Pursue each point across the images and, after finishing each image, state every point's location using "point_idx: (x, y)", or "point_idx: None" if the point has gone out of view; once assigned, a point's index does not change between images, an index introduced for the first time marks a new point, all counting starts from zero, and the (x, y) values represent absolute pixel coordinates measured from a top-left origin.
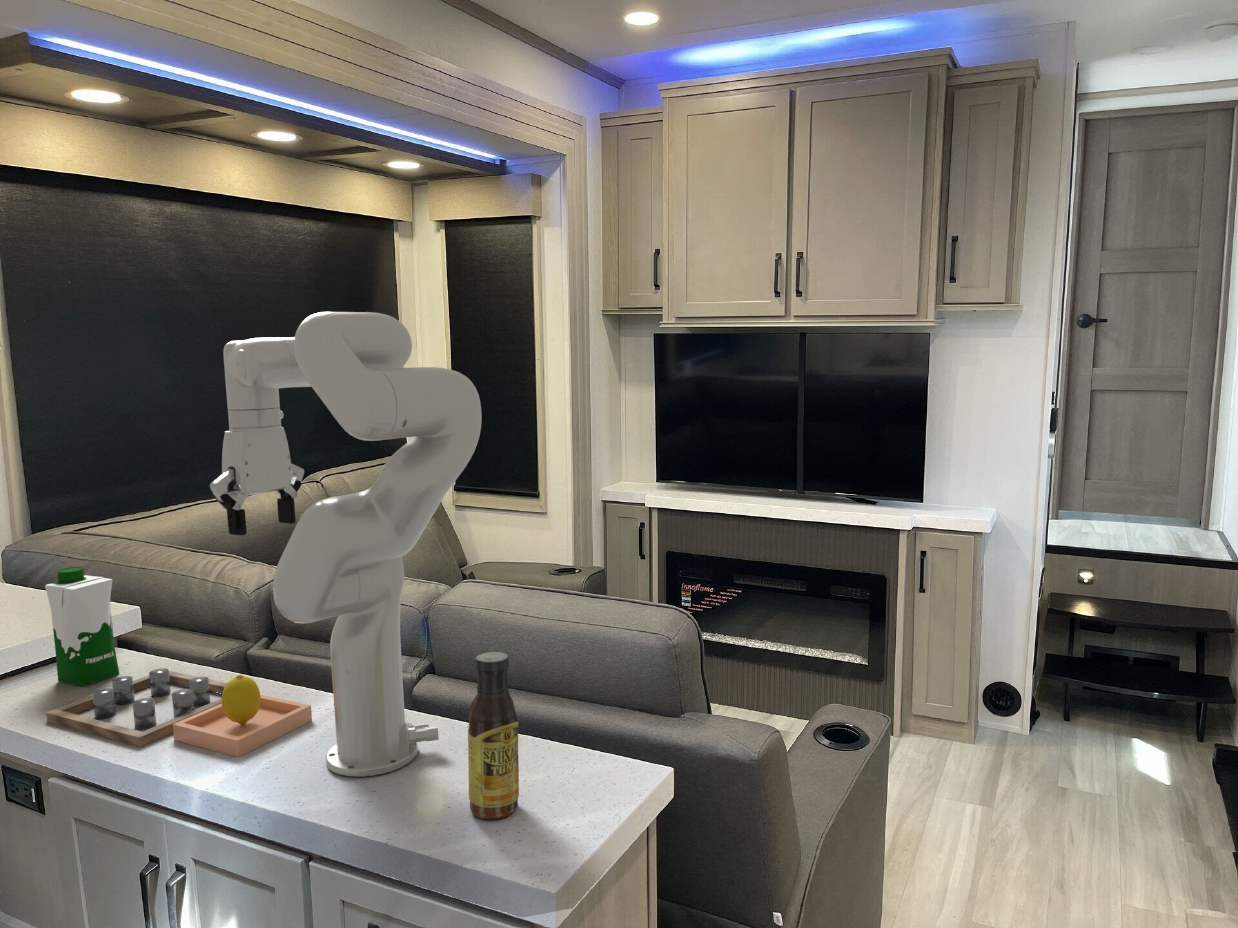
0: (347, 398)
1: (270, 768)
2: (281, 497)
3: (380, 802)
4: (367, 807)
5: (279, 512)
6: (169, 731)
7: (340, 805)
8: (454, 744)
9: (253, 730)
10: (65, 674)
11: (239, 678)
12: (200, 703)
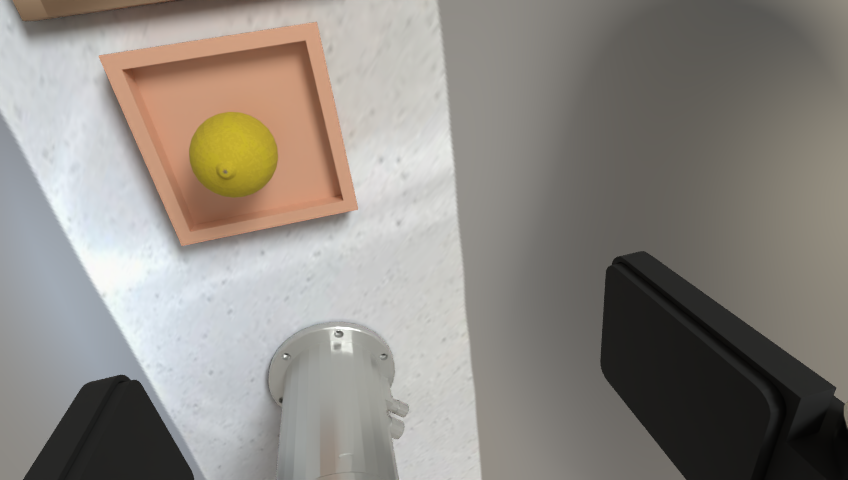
0: None
1: (211, 303)
2: (797, 463)
3: (268, 457)
4: (251, 457)
5: (660, 319)
6: (112, 9)
7: (230, 438)
8: (421, 404)
9: (223, 228)
10: None
11: (222, 178)
12: None
